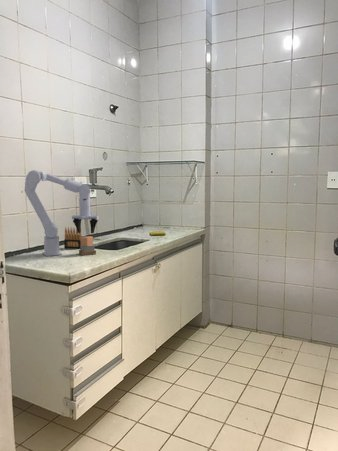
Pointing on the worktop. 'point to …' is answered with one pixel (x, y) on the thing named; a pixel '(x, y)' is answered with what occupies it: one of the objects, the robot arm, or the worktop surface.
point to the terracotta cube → (86, 241)
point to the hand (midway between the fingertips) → (85, 232)
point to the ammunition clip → (72, 239)
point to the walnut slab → (87, 252)
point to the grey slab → (87, 248)
